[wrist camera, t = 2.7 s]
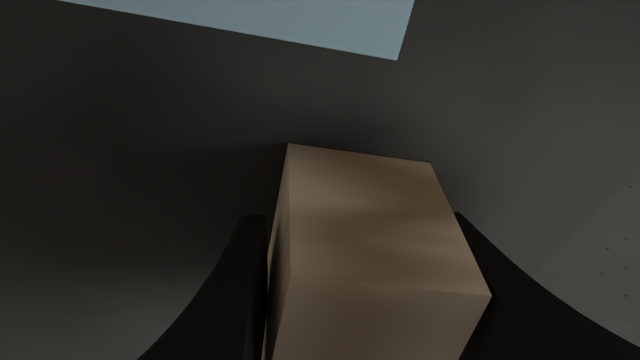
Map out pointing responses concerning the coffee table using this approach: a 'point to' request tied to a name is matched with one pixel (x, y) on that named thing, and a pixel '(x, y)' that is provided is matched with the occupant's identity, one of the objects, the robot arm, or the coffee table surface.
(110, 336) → the coffee table surface
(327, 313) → the beech block
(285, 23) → the book
